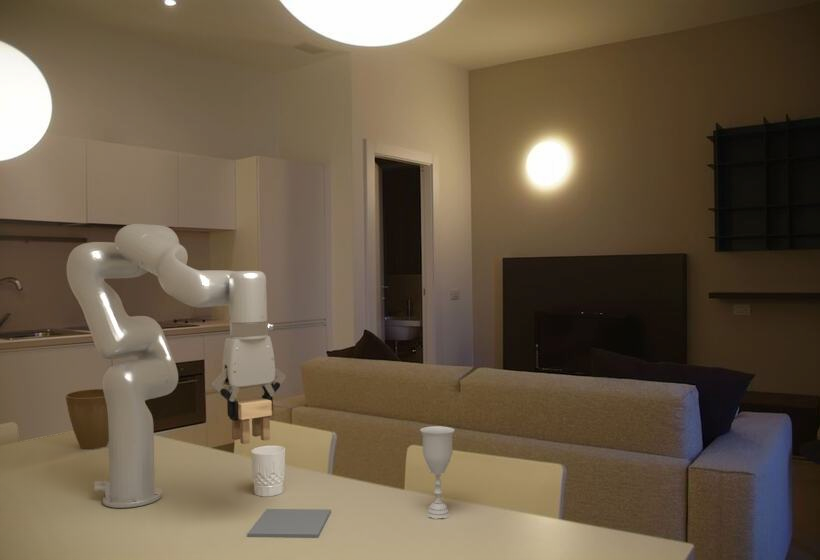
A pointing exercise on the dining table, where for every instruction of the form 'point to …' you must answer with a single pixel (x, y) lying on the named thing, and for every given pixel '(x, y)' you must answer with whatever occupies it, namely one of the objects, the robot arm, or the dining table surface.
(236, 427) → the stool
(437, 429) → the chalice
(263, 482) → the white cup
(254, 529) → the mat
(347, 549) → the dining table surface
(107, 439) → the plant pot
